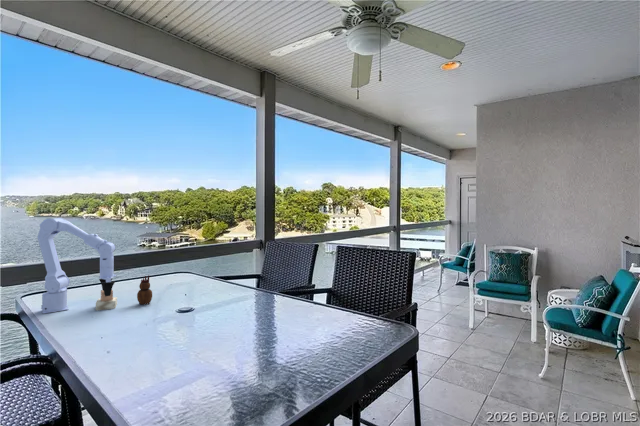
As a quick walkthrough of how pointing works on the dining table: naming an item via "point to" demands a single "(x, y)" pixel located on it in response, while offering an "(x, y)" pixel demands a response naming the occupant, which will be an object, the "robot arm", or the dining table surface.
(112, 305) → the birch block
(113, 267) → the robot arm
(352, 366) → the dining table surface
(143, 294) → the wooden figurine
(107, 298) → the terracotta cube
